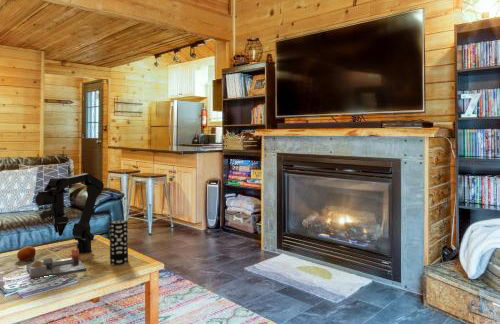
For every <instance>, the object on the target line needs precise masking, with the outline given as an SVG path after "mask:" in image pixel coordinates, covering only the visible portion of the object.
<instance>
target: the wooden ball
mask: <svg viewBox="0 0 500 324" xmlns="http://www.w3.org/2000/svg"><path fill="white" fill-rule="evenodd" d="M41 261H42V260H40V261H39V260H36V261H33V262H34V263H33V262H32V263H31V264H32V265H31V267H37V266H43V265H44V264H43V263H42V262H41Z"/></svg>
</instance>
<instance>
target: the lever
mask: <svg viewBox="0 0 500 324" xmlns="http://www.w3.org/2000/svg"><path fill="white" fill-rule="evenodd" d="M62 259H63V260H59V259H56V260H57V261H53V260H54V259H53V258H52V257H49V258H48V257H47V258H44V259H43V260H40V261H41V262H42V263H43V264H44V265H46V267H50V266H53V265H59V264H65V263H70V262H77V261H79V260H80V253H79V249H77V248H72V249H71V257H68V259H66V258H62ZM34 262H35V261H33V262H32V264H33V263H34Z"/></svg>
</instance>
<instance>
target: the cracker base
mask: <svg viewBox="0 0 500 324" xmlns="http://www.w3.org/2000/svg"><path fill="white" fill-rule="evenodd" d="M68 258H69V257H68ZM68 258H67V257H66V258H65V259H68ZM63 259H64V258H61V259H53V261H57V260H63ZM32 264H33V263H26V269H27V268H28V269H27V271H29V272H28V274H30V275H29V277H31V278H30V280H31V279H33V280H36V279H35V278H39V279H41V278H40V277H44V276H49V275H57V276H61V275H60V274H63V275H67V274H75V273H79V272H86V271H87V267H86V266H85V265H84V264H83V263H82V261H81V260H80V259H79V261H77V262H70V263H65V264H59V265H53V266H50V267H46V265H43V266H37V267H31V265H32Z"/></svg>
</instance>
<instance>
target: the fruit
mask: <svg viewBox="0 0 500 324" xmlns="http://www.w3.org/2000/svg"><path fill="white" fill-rule="evenodd" d="M36 253H37V252H36V248H35V247H34V246H32V245H27V246H23V247H22V248H20V249H19V250H18V252H17V254H16V255H17V257H16V258H17V259H18V260H19V261H20V262H26V261H27V262H29V261H30V260H36V258H35V257H36Z"/></svg>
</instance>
